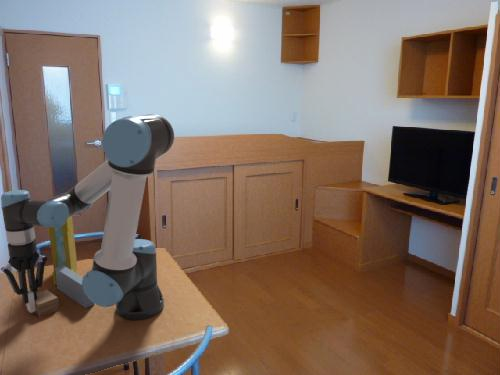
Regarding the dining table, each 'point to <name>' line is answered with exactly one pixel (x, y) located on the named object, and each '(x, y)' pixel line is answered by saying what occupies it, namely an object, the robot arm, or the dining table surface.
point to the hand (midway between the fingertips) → (31, 310)
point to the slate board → (72, 285)
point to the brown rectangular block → (46, 303)
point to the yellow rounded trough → (63, 246)
